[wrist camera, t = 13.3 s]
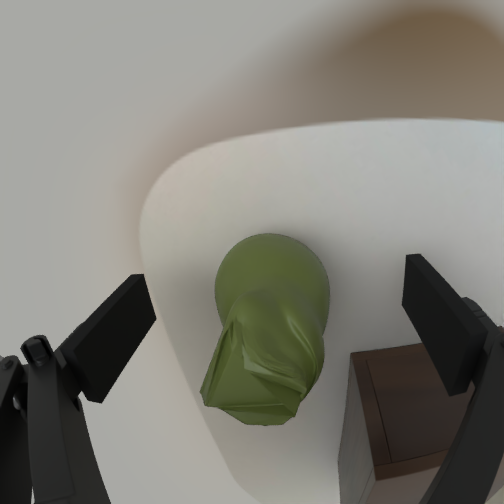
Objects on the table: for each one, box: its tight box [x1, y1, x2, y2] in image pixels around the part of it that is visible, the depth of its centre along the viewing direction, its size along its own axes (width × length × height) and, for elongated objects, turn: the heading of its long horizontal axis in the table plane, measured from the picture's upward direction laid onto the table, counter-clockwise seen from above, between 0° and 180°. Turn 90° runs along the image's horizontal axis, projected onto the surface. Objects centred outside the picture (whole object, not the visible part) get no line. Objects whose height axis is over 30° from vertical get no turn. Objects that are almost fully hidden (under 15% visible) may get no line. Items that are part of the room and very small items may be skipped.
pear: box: [200, 234, 330, 426], centre depth 13 cm, size 6×5×10 cm
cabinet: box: [338, 326, 504, 504], centre depth 16 cm, size 15×13×10 cm
